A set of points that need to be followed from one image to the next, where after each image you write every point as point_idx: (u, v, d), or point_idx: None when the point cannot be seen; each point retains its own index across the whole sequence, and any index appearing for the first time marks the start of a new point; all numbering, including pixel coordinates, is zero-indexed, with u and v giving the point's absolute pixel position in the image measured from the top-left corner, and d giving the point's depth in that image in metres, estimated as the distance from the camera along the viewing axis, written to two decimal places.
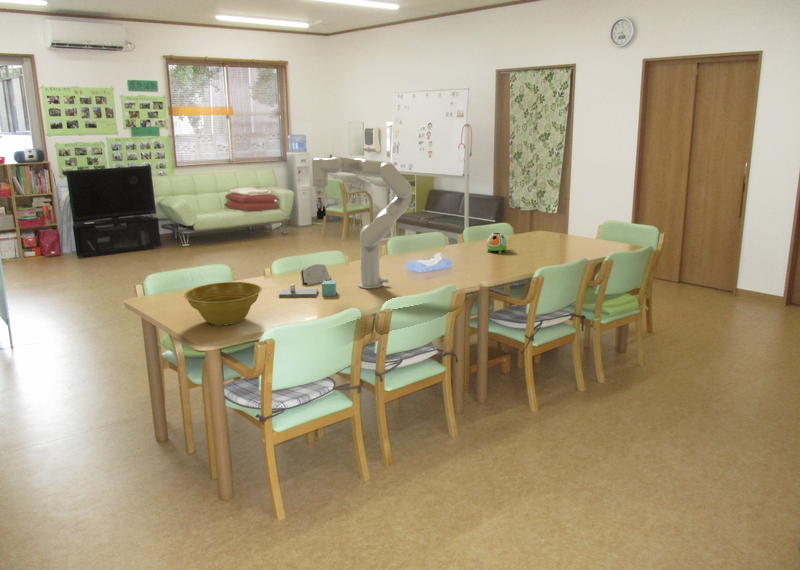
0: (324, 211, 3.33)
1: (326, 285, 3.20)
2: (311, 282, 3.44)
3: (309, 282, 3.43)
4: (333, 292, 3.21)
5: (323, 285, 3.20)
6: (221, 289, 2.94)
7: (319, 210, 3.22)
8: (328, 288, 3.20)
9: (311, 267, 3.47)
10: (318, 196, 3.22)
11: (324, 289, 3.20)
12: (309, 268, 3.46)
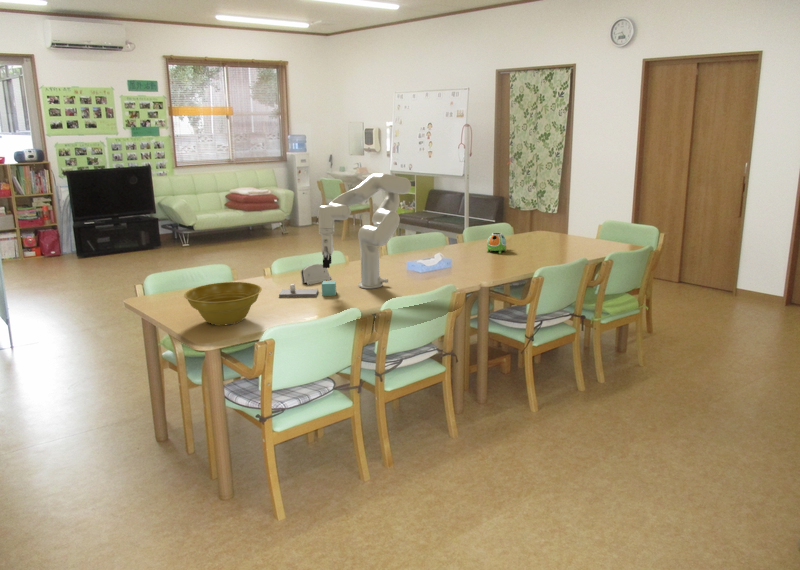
0: (330, 259, 3.24)
1: (326, 285, 3.20)
2: (311, 282, 3.44)
3: (309, 282, 3.43)
4: (333, 292, 3.21)
5: (323, 285, 3.20)
6: (221, 289, 2.94)
7: (325, 259, 3.13)
8: (328, 288, 3.20)
9: (311, 267, 3.47)
10: (324, 245, 3.13)
11: (324, 289, 3.20)
12: (309, 268, 3.46)
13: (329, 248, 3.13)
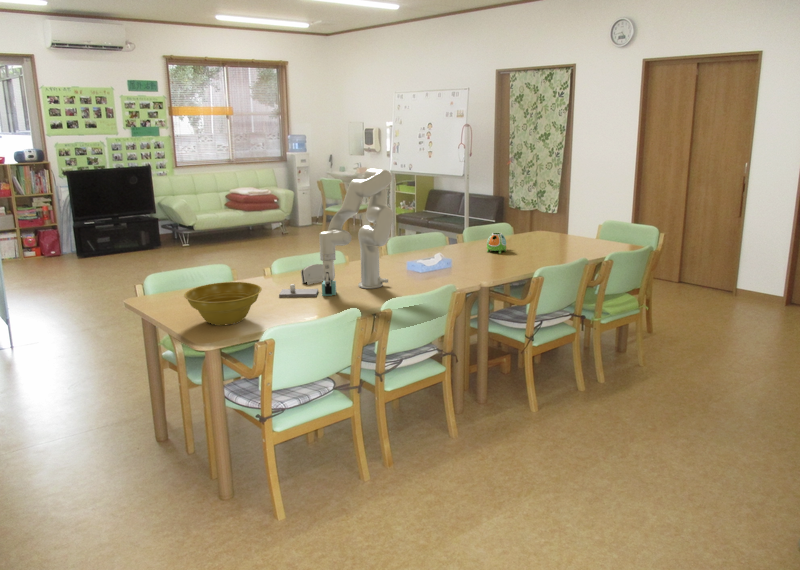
0: None
1: None
2: (311, 282, 3.45)
3: (309, 282, 3.44)
4: (333, 292, 3.21)
5: (323, 285, 3.20)
6: (221, 289, 2.94)
7: (327, 286, 3.18)
8: None
9: (312, 267, 3.48)
10: (326, 271, 3.16)
11: (324, 289, 3.20)
12: (309, 268, 3.47)
13: (331, 274, 3.17)
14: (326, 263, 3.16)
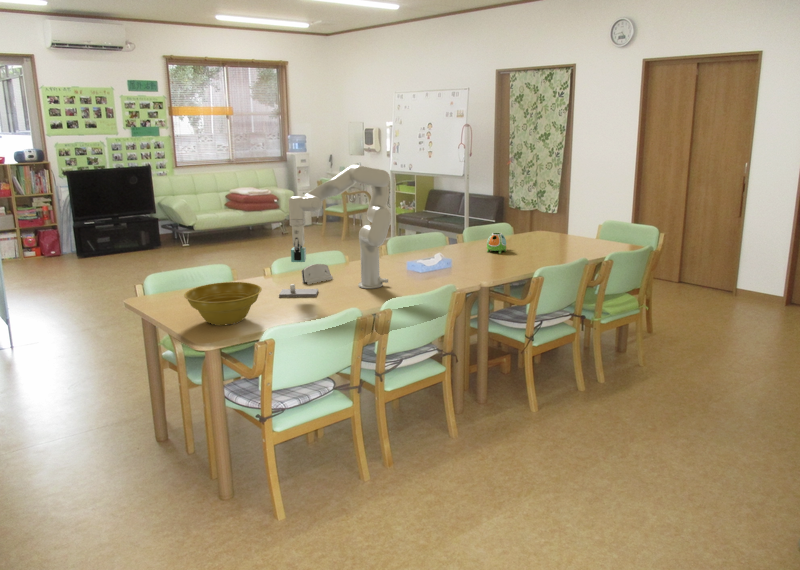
0: None
1: None
2: (311, 281, 3.45)
3: (309, 281, 3.44)
4: (302, 258, 3.16)
5: (292, 251, 3.15)
6: (221, 289, 2.94)
7: (296, 252, 3.14)
8: None
9: (312, 267, 3.48)
10: (295, 236, 3.12)
11: (293, 255, 3.16)
12: (310, 268, 3.47)
13: (300, 239, 3.12)
14: (295, 228, 3.11)
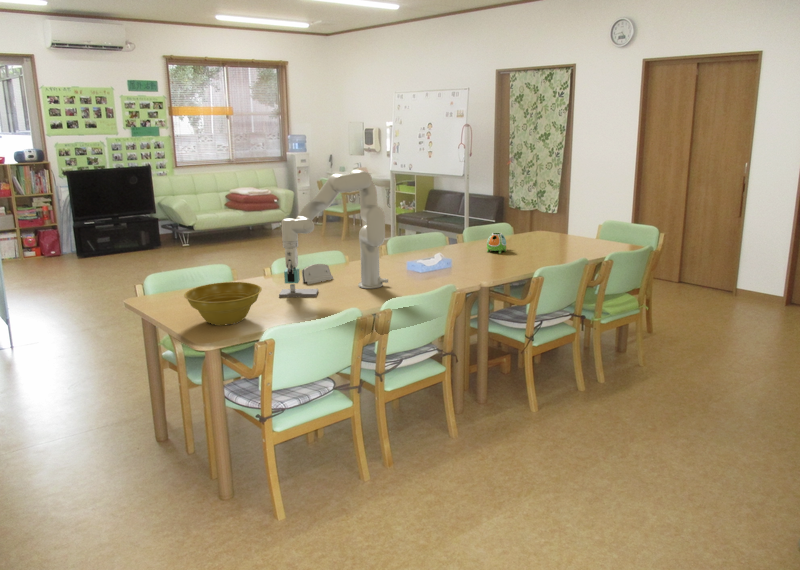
0: None
1: None
2: (311, 281, 3.45)
3: (309, 281, 3.45)
4: (296, 280, 3.19)
5: (285, 272, 3.18)
6: (221, 289, 2.94)
7: (290, 273, 3.16)
8: None
9: (312, 266, 3.49)
10: (288, 258, 3.14)
11: (287, 277, 3.19)
12: (310, 268, 3.47)
13: (293, 261, 3.15)
14: (288, 250, 3.14)
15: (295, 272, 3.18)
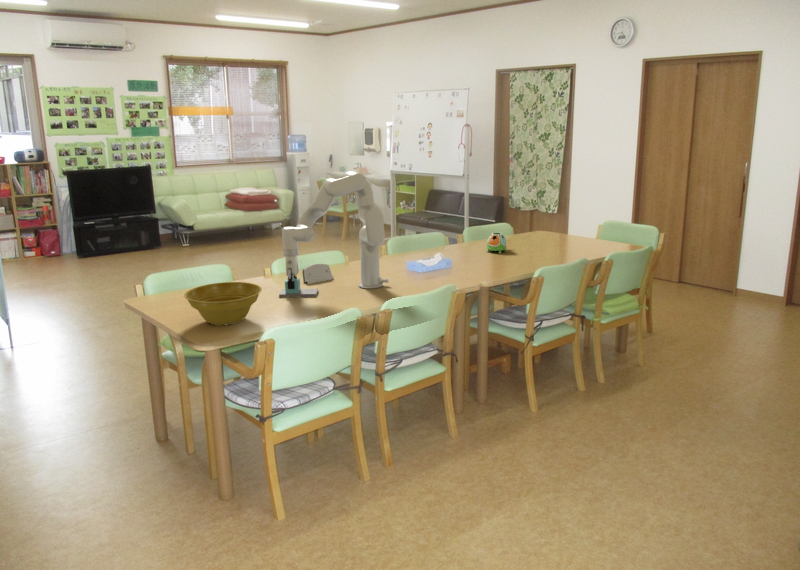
0: None
1: None
2: (311, 281, 3.46)
3: (309, 281, 3.45)
4: (296, 290, 3.20)
5: (286, 283, 3.19)
6: (221, 289, 2.94)
7: (290, 281, 3.16)
8: None
9: (313, 266, 3.49)
10: (289, 266, 3.15)
11: (287, 287, 3.20)
12: (310, 268, 3.48)
13: (293, 269, 3.16)
14: (288, 259, 3.15)
15: (296, 282, 3.19)
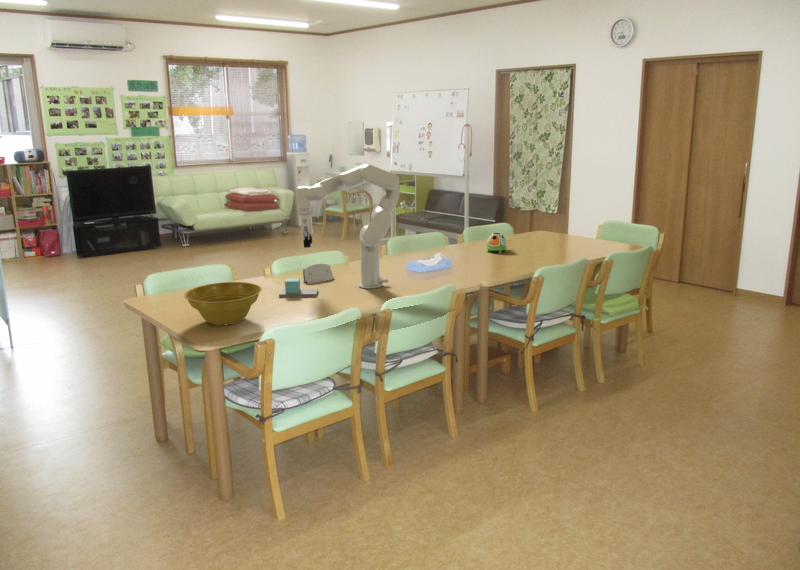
0: (310, 238, 3.32)
1: (289, 283, 3.19)
2: (311, 281, 3.46)
3: (309, 281, 3.45)
4: (296, 290, 3.20)
5: (286, 283, 3.19)
6: (221, 289, 2.94)
7: (306, 239, 3.21)
8: (291, 286, 3.20)
9: (313, 266, 3.49)
10: (304, 225, 3.20)
11: (287, 287, 3.20)
12: (311, 267, 3.48)
13: (309, 228, 3.21)
14: (304, 217, 3.20)
15: (296, 282, 3.19)
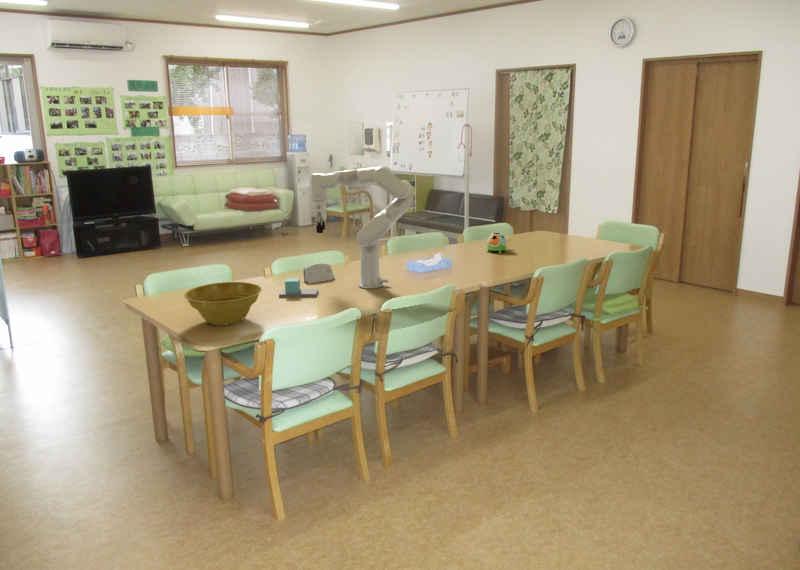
0: (323, 225, 3.39)
1: (289, 283, 3.19)
2: (312, 281, 3.47)
3: (309, 281, 3.46)
4: (296, 290, 3.20)
5: (286, 283, 3.19)
6: (221, 289, 2.94)
7: (319, 224, 3.28)
8: (291, 286, 3.20)
9: (314, 266, 3.50)
10: (318, 211, 3.28)
11: (287, 287, 3.20)
12: (311, 267, 3.49)
13: (322, 214, 3.28)
14: (318, 203, 3.28)
15: (296, 282, 3.19)
